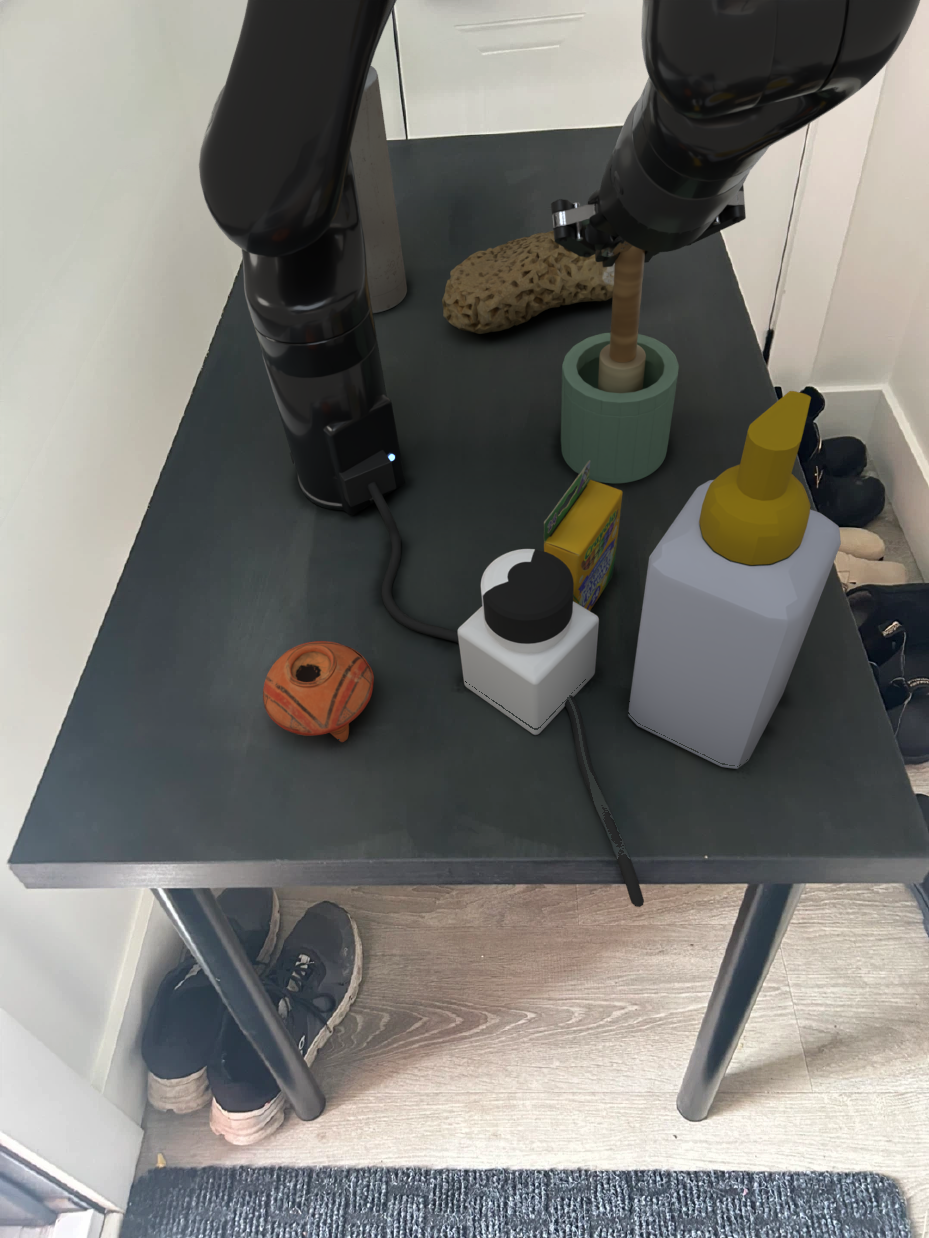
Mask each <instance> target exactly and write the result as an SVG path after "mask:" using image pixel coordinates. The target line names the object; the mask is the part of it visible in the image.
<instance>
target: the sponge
mask: <svg viewBox="0 0 929 1238" xmlns="http://www.w3.org/2000/svg"><path fill="white" fill-rule="evenodd" d="M614 268H615V263H614V265H613V266H611V267H603V265H602V262H596V261H595V254H594V255H592V256H590V257H587V258H585V257H580V256H578V255H576V254H575V253H573V252H571V251H570V250H568V249H566V248H564V247H563V246H561V245H559V244H557V243H556V242H555V241H554V231H553V230H549V231H547V232H538V233H534V234H531V235H530V236H524V237H520V238H515V239H511V240H509V241H507V242H506V243H503V244H500V245H497V246H496V247H494V248H492V247H488V248H487V249H486V250H478V251H476V252H474V253H472V254H470V255H468V257H467V258H465V259H464V260H463V261H462V262H461V263H459V264H456V266H455V267H454V268H453V269H451V271H450V272H449V274H450V278H449V279H447V281H446V284H445V286H444V294H443V297H442V299H441V303H442V309H443V311H442V312H443V315H442V316H443V318H444V319H445V320H446V321H447V322H448V323H449V324H450V325H452V327H455V328H457V329H458V330H460V331H463V332H470V333H475V334H478V335H482V334H488V333H495V332H501V331H504V330H508V329H510V328H512V327H514V326H516V327H517V326H518V325H521V324H523V323H527V322H528V321H530V320H531V319H532V318H533V317H536V316H538V315H539V314H541V313H542V312H544V311H547V310H548V309H552V308H559V307H561V306H569V305H573V304H578V303H585V302H586V303H587V302H606V301H608V300H610V299H613V284H614Z"/></svg>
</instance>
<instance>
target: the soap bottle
mask: <svg viewBox="0 0 929 1238" xmlns="http://www.w3.org/2000/svg"><path fill="white" fill-rule="evenodd" d="M811 399H812V397H811V396H810V395H808V394H807V393H803V392H799V391H796V390H789V391H787V393H786V394H784V395H783V396H782V397H781V398H780V399H778V400H777V401H776V402H775V403H773V404H772V405H771V406H770V407H769V408H768V409H767V410H766V411H764V412H763V413H761V414H760V415H759V416H758V417H757V418H756V419H755V420H754V421H752V422H751V423H750V424H749V426H748V429H747V433H746V437H745V440H744V441H745V442H744V446H743V450H742V454H741V459H740V463H739V464H737V465H734V466H732V467H729V468H727V469H725V470H724V471H723V472H721V473H720V474H719V475H718V476H717V477H716V478H715V479H709V480H707V481H706V482H704V483H702V484H701V485H699V486H697V488H696V489H695V490H694V491H693V493H692V494H691V496H690V497H689V499H688V500H687V501H686V503H685V504H684V506H683V508H681V510H680V512H679V513H678V515H677V516H676V517H675V519H674V520H673V522H672V523H671V524H670V526H669V527H668V529H667V530H666V532H665V533H664V535H663V536H662V538H661V539H660V540H659V542H658V543H657V544H656V547H655V548H654V549H653V551H652V552H651V554H650V555H649V557H648V562H647V563H648V564H647V571H646V577H645V586H644V592H643V593H644V594H643V599H642V607H641V609H642V610H641V615H640V623H639V629H638V636H637V642H636V643H637V644H636V649H635V650H636V651H635V657H634V658H635V659H634V666H633V673H632V680H631V688H630V695H629V701H630V702H629V701H628V711H627V717H629V719H631V721H632V722H633V723H634V724H635V725H636V726H637V727H639V728H641V729H643V730H645V731H647V732H650V733H651V734H653V735H655V736H657V737H660V738H662V739H664V740H666V741H668V742H669V743H672V744H674V745H676V746H678V747H680V748H682V749H683V750H687V751H688V752H691V753H692V754H694V755H697V756H699V757H701V758H703V759H705V760H707V761H709V762H711V763H713V764H715V765H717V766H719V767H721V768H728V769H735V770H738V769H740V768H741V767H742V766H744V764H746V763H747V762H749V761H750V758H751V757H752V755H753V753H754V751H755V749H756V747H757V745H758V743H759V741H760V739H761V738H762V735H763V733H764V731H765V730H766V728H767V725H768V723H769V722H770V720H771V718H772V716H773V714H774V712H775V710H776V708H777V707H778V705H779V702H780V701H781V699H782V697H783V695H784V692H785V690H786V688H787V685H788V682H789V679H790V677H791V674H792V672H793V669H794V667H795V664H796V661H797V659H798V656H799V653H800V651H801V648H802V646H803V644H804V640H805V638H806V635H807V633H808V630H809V627H810V626H811V622H812V620H813V618H814V615H815V612H816V610H817V607H818V604H819V601H820V599H821V596H822V594H823V591H824V589H825V586H826V584H827V581H828V578H829V576H830V573H831V571H832V568H833V565H834V563H835V561H836V558H837V555H838V552H839V550H840V547H841V544H842V540H841V530H840V526H839V525H838V524H836V523H835V522H834V521H832V520H831V519H829V518H828V517H827V516H825V515H824V514H822V512H819V511H817V510H816V511H815V510H813V509H811V502H810V499H809V497H808V493H807V491H806V489H805V487H804V484H803V483H801V481H800V480H799V479H798V478H797V477H796V476H795V475H794V474H793V473H792V472H793V469H794V466H795V462H796V459H797V456H798V453H799V448H800V446H801V442H802V438H803V434H804V430H805V425H806V422H807V417H808V413H809V408H810V403H811ZM628 712H629V713H630V715H631V716H632V717H633V718H634V719H635V720H636V721H637V722H638V723H640V724H641V725H640V724H638V723H637V722H636V721H635V720H634V719H633V718H632V717H631V716H630V715H629V714H628ZM642 725H643V726H642ZM644 726H646V727H648V728H650V729H652V730H655V731H656V732H658V733H656V732H654V731H652V730H650V729H648V728H646V727H644ZM659 733H660V734H659ZM661 734H662V735H661ZM663 735H665V736H666V737H665V736H663ZM667 737H668V738H667ZM669 738H670V739H669ZM671 739H673V740H675V741H677V742H678V743H677V742H675V741H673V740H671ZM679 743H681V744H683V745H685V746H687V747H689V748H692V749H694V750H696V751H698V752H699V753H697V752H695V751H693V750H691V749H689V748H687V747H685V746H683V745H681V744H679ZM700 753H701V754H700ZM702 754H705V755H706V756H708V757H710V758H712V759H714V760H716V761H718V762H720V763H725V764H728V765H722V764H720V763H718V762H716V761H714V760H712V759H710V758H708V757H706V756H704V755H702ZM747 759H748V760H747ZM746 760H747V761H746ZM740 764H741V765H740ZM729 765H735V766H729ZM739 765H740V766H739ZM737 766H738V767H737Z"/></svg>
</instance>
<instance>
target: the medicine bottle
mask: <svg viewBox="0 0 929 1238" xmlns="http://www.w3.org/2000/svg"><path fill="white" fill-rule="evenodd" d="M573 590H574V582H573V577H572V574H571V572H570V570H569V568H568V567H567V565H566V564H565V563H564V562H563V561H561V560H560V559H559V558H557V557H556V556H554V555H552V554H550V553H547V552H544V550H542V549H537V548H536V549H535V548H522V549H521V548H520V549H515V550H512V551H509V552H506V553H504V554H502V555H499V556H498V557H497V558H495V559H494V560H493V561H492V562H490V563H489V564H488V565H487V567H486V569H485V570H484V571H483V573H482V576H481V580H480V595H481V605H482V606H480V607H479V608H478V609H477V610H476V611H474V613H473V614H472V615H471V616H470V617H469V618H468V619H467V620H465V621H464V622H463V623H462V624H461V625H460V626H459V627H458V629H457V632H458V639H459V643H458V648H459V654H460V662H461V670H462V677H463V678H462V679H463V685H464V686H465V687H466V688H467V689H468V690H470V691H471V692H473V694H475V695H476V696H478V697H479V698H481V699H482V700H484V702H487V703H488V704H489V705H491V706H493V707H494V708H495V709H496V710H498V711H500V712H501V713H502V714H503V715H505V716H507V717H508V718H509V719H511V720H512V721H513V722H515V723H517V724H518V725H519V726H521V727H522V728H523V729H525V730H526V731H528V732H529V733H531V734H532V735H534V736H538V735H539V734H540V733H542V732H543V731H544V729H545V728H546V727H547V726H548V725H549V724H550V723H551V722H552V721H553V720H554V719H555V718H556V716H558V714H559V713H560V712H561V711H562V710H564V708H566V706H565V702H566V701H565V700H566V699H567V697H569V695H572V696H573V698H574V697H575V696H576V695H577V694H578V693H579V692H580V691H581V690H582V689H583V688H584V686H585V685H586V684H587V683H589V681H590V680H591V679H592V678H594V676H595V674H596V664H597V663H596V662H597V652H598V651H597V649H598V637H599V626H600V625H599V624H600V619H599V616H598V615H597V614H595V613H594V612H592V611H591V610H590V611H588V610H587V609H585V608H584V607H582V606H580V605H579V604H577V603H575V602H574V601H573ZM585 679H586V680H585ZM584 680H585V681H584ZM465 681H466V682H467V683H466V682H465ZM583 681H584V682H583ZM582 682H583V683H582ZM469 684H470V685H469ZM580 684H581V685H580ZM579 685H580V686H579ZM472 686H473V687H472ZM474 687H475V688H476V689H477V690H476V689H475V688H474ZM577 687H578V688H577ZM576 688H577V689H576ZM574 690H575V691H574ZM479 691H480V692H479ZM481 692H482V693H483V694H482V693H481ZM572 692H573V693H572ZM571 693H572V694H571ZM484 694H485V695H487V696H488V697H489V698H490V699H489V698H488V697H486V696H485V695H484ZM491 699H492V700H494V701H495V702H497V703H498V704H500V705H502V706H503V707H504V708H505V709H506V710H508V711H510V712H511V713H513V714H514V715H515V716H517V717H518V718H520V719H521V720H523V721H524V722H526V723H527V724H529V725H530V726H532V727H533V728H538V727H540V726H541V725H542V724H543V723H544V722H545V721H546V719H548V718H549V716H550V715H551V714H552V713H553V712H554V711H555V710H556V709H557V708H558V707H559V706H560V705H561V704H562V702H564V701H565V702H564V703H563V704H562V705H561V706H560V707H559V708H558V709H557V710H556V712H555V713H554V714H553V715H552V716H551V717H550V718H549V719H548V720H547V721H546V722H545V723H544V724H543V725H542V726H541V728H539V729H538V730H534V729H532V728H530V727H529V726H528V725H526V724H525V723H523V722H522V721H520V720H519V719H518V718H516V717H515V716H513V715H512V714H511V713H509V712H508V711H506V710H505V709H503V708H502V707H501V706H499V705H498V704H496V703H495V702H493V701H492V700H491Z"/></svg>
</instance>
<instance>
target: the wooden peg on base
mask: <svg viewBox="0 0 929 1238" xmlns="http://www.w3.org/2000/svg"><path fill="white" fill-rule="evenodd" d="M644 260H645V250H642V249H639V248H637V247H634V246H632V247H631V248H630V249H629V250H628V251H625V252H620V255H619V256H618V258H617V259H616V260H615V268H614V284H613V297H612V300H611V301H612V302H611V303H612V304H611V318H610V333H611V334H610V344H609V345H607V346H605V347H604V348H603V349H602V350H601V352H600V357H599V377H598V389H599V390H602V391H605V392H612V393H629V392H636V391H640V390H643V380H644V370H645V360H646V354H645V351H644V350H643V349H642V348H641V347H640V346H639V345H637V339H638V334H639V327H640V315H641V303H642V294H643V293H642V292H643V279H644V270H645V263H644Z"/></svg>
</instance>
